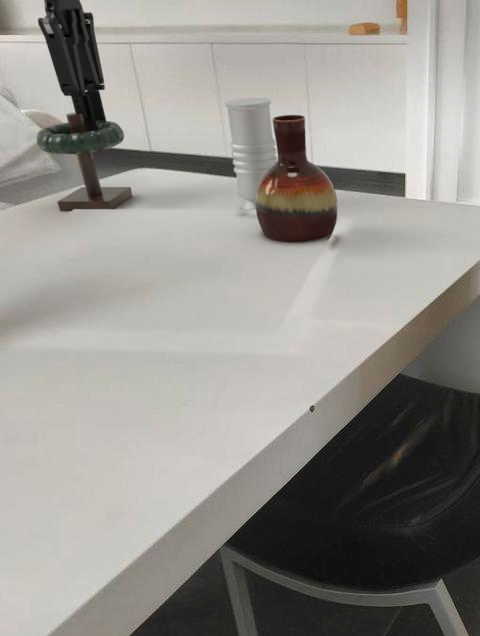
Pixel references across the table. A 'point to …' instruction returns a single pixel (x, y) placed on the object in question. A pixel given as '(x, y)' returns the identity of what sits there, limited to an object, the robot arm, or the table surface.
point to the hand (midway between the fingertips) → (96, 137)
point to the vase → (295, 190)
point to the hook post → (91, 180)
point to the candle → (251, 144)
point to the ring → (79, 138)
